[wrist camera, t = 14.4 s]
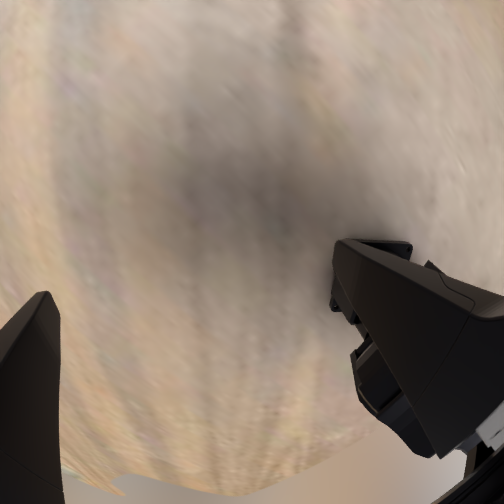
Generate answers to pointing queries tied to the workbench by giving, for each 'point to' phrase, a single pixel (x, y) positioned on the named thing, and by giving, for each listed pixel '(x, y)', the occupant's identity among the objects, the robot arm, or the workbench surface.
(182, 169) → the workbench surface
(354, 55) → the workbench surface
